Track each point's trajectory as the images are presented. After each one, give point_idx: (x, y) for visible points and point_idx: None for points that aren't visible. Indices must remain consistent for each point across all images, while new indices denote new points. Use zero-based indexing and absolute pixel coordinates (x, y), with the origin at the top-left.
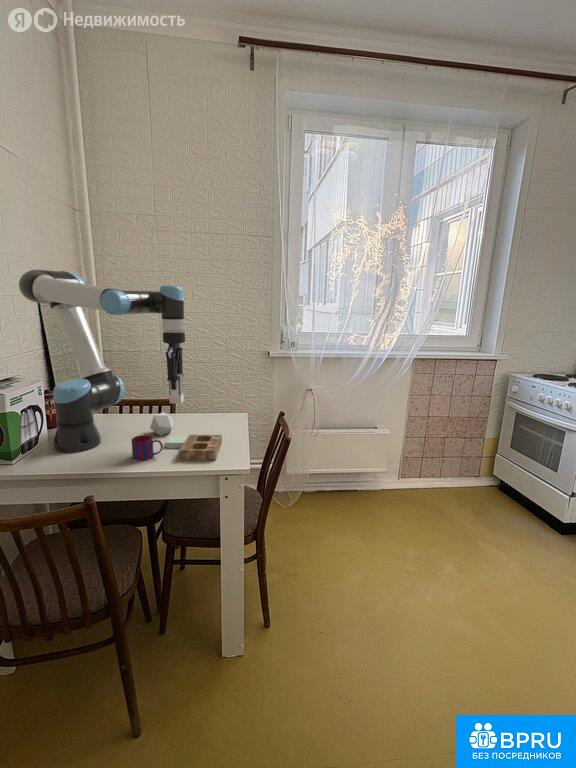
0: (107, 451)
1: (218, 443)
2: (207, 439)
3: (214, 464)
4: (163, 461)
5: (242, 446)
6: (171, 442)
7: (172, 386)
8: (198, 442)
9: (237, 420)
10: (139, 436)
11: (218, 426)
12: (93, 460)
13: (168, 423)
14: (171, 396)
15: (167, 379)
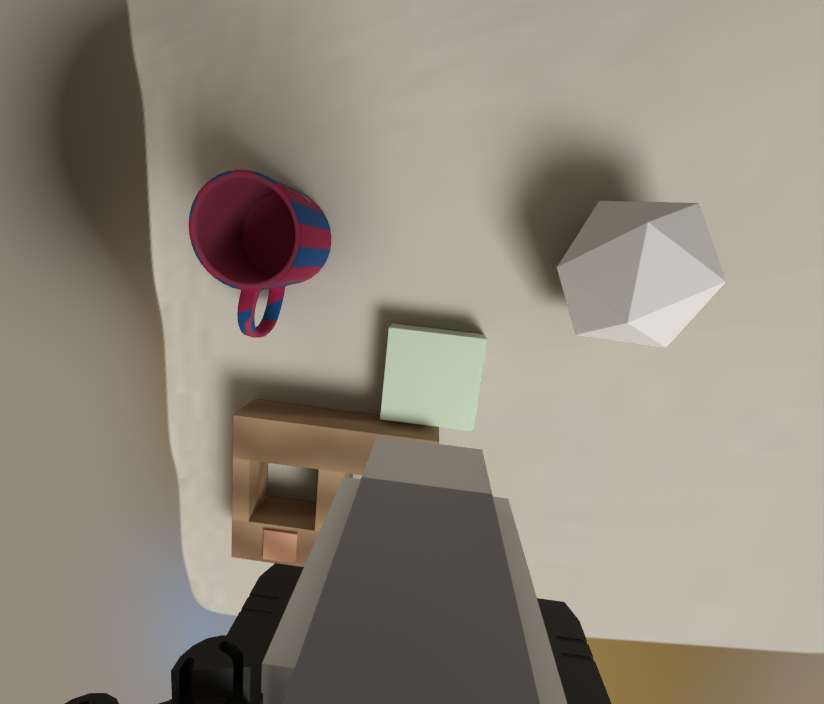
0: (364, 25)
1: None
2: None
3: (217, 524)
4: (242, 335)
5: None
6: (389, 354)
7: (247, 615)
8: (327, 488)
9: (742, 628)
10: (287, 205)
11: (663, 541)
12: None
13: (589, 321)
14: (339, 495)
15: (181, 660)
